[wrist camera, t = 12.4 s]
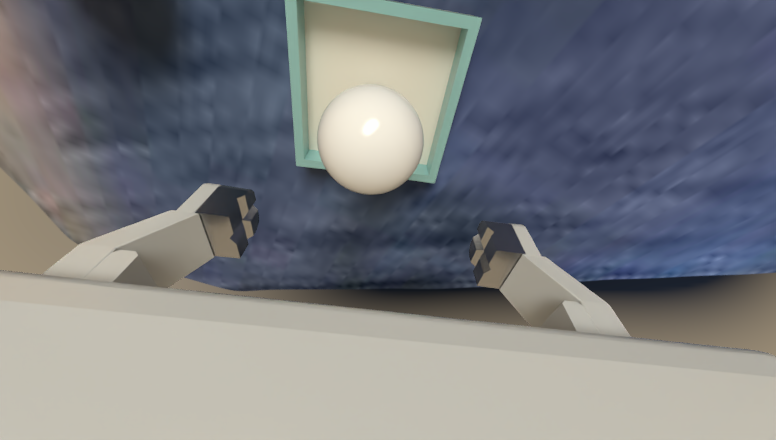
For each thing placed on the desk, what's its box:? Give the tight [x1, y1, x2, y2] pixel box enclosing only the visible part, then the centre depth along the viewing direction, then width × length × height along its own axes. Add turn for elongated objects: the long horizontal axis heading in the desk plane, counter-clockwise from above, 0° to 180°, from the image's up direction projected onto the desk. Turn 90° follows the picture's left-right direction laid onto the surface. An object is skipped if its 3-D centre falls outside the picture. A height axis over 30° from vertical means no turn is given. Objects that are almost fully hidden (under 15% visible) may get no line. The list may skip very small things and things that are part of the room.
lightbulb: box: [317, 84, 424, 195], centre depth 19 cm, size 6×6×11 cm
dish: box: [285, 0, 482, 183], centre depth 22 cm, size 12×12×3 cm
